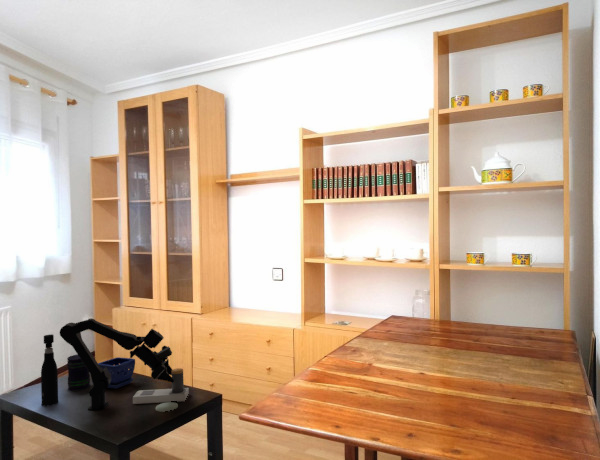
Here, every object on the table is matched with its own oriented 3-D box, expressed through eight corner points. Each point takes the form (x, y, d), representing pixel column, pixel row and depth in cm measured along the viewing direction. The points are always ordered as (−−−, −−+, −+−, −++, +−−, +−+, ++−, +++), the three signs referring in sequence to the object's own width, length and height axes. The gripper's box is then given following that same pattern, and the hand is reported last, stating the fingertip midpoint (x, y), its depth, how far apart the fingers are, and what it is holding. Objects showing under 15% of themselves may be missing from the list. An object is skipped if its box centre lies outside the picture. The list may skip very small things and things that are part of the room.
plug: (183, 400, 191) (182, 371, 191) (170, 400, 191) (169, 372, 191) (185, 395, 197) (184, 367, 197) (173, 396, 196) (172, 368, 196)
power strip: (185, 401, 190) (185, 393, 190) (132, 403, 188) (132, 396, 188) (188, 394, 198) (188, 387, 198) (138, 397, 196) (138, 390, 196)
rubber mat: (175, 411, 179) (175, 409, 179) (153, 412, 178) (153, 411, 178) (179, 403, 188) (179, 401, 188) (158, 404, 187) (158, 402, 187)
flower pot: (95, 388, 210) (95, 363, 211) (117, 379, 223) (117, 356, 223) (115, 391, 205) (115, 366, 205) (137, 382, 217) (136, 358, 217)
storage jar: (94, 383, 217) (93, 353, 217) (82, 390, 207) (81, 359, 207) (76, 383, 218) (75, 353, 218) (63, 390, 208) (62, 359, 209)
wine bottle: (61, 400, 196) (59, 333, 196) (53, 405, 189) (52, 336, 190) (46, 400, 195) (45, 334, 196) (38, 406, 189) (37, 337, 189)
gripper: (158, 347, 183) (186, 370, 186) (162, 337, 202) (187, 358, 204) (139, 367, 181) (167, 390, 184) (145, 355, 200) (170, 377, 202)
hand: (174, 378), depth 193 cm, fingers open, 9 cm apart
